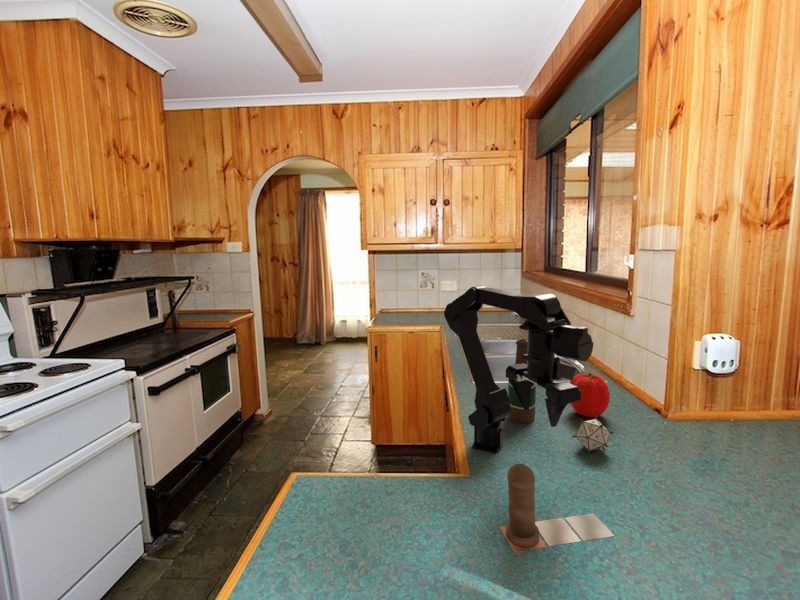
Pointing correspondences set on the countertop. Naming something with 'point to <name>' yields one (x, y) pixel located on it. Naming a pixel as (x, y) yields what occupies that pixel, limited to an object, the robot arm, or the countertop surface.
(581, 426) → the game die
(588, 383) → the tomato
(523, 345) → the beer bottle
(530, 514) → the pawn
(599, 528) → the board
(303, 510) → the countertop surface
